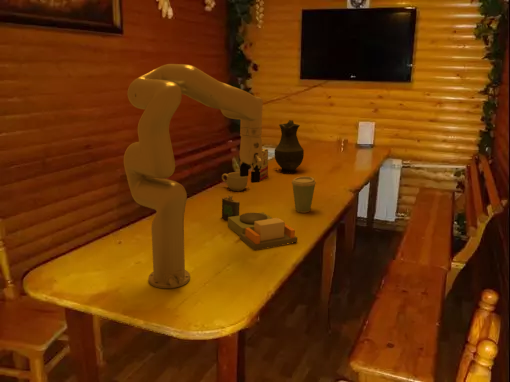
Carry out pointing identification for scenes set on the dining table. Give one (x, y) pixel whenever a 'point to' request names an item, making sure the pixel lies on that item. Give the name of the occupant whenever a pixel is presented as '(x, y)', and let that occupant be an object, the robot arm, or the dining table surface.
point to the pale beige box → (269, 228)
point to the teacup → (235, 181)
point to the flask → (229, 207)
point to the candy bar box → (264, 164)
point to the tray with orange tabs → (246, 232)
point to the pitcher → (289, 148)
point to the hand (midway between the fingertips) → (249, 179)
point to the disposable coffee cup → (303, 193)
